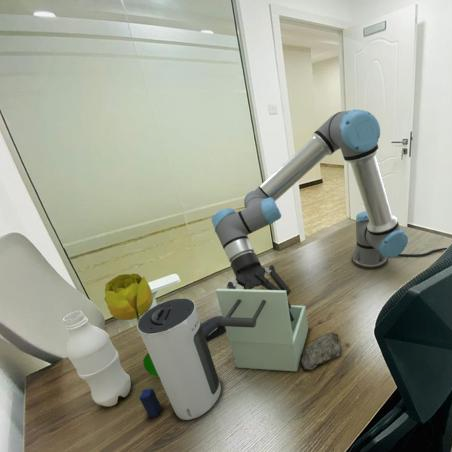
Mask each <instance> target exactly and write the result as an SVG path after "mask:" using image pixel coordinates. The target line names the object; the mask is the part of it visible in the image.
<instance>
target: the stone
mask: <svg viewBox="0 0 452 452" xmlns="http://www.w3.org/2000/svg"><path fill="white" fill-rule="evenodd" d="M341 353H342V346H341V343H340V342H339V333H334V332H332V333H330V332H329V333H328V332H327V333H324V334H323V335H321V336H319V337H318V338H316V339H314V341H312V342H310V343H309V345H307V346H306V347H305V349H303V351H302V354H301V359H300V363H301V366H302V368H303V370H308V371H309V370H310V371H311V370H314V369H315V368H316V367H317V366H318V365H319V364H323V363H324V362H327V361H329V360H332V359H333V358H335V357H340V356H341Z"/></svg>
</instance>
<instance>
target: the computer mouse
mask: <svg viewBox="0 0 452 452" xmlns="http://www.w3.org/2000/svg"><path fill="white" fill-rule="evenodd" d="M221 318H222V315H216V316H215V315H214V316H213V317H210V318H208V319H207V320H205V321H203V322H201V325H202V328H203V332H204V335H205V338H206V341H207V342H208V340H210V339H212V338H214V337H216V336H218V335H220V334H222V333H224V332H226V328H225V326H221V325H220V321H221Z"/></svg>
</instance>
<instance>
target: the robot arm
mask: <svg viewBox="0 0 452 452" xmlns="http://www.w3.org/2000/svg"><path fill="white" fill-rule="evenodd" d="M380 137H381V126H380V123H379V120H378V119H377V117H376V116H375V115H374V114H373V113H371V112H369V111H367V110H364V109H351V110H345V111H344V110H343V111H338V112H336V113H333V115H331V116H330V117H329V118H328V119H327V120H326V121H325V122H324V123H322V124H321V126H319V128H317V129H316V130H315V131H314V132H313V133H312V138H311V139H310V140H309V141H308V142H306V143H305V144H304V145H303V146H302V147H301V148H300V149H299V150H298V151H296V152H295V154H293V155H292V156H291V157H290V158H289V159H287V160H286V162H284V163H283V164H282V165H281V166H279V168H278V169H277V170H276V171H274V172H273V173H271V175H270V176H269V177H268V178H267V179H266V180H264V181H263V182H262V183H261V184H259V186H258V187H257V188H256V189H255V190H251V191H249V192H248V193H246V195H245V196H244V200H243V203H244V208H243V209H241V210H239V211H236V210H235V209H234V208H230V207H228V208H227V207H226V208H225V209H222V208H221V209H220V210H218V211H216V212H215V213H214V214H213V215H212V217H211V223H212V225H213V229H214V232H215V233H216V236H217V238H218V240H219V242H220V244H221V246H222V249H223V251H224V253H225V256H226V258H227V260H228V262H229V263H230V267H231V269H232V271H233V274H234V276H235V279H234V280H232V281H228V282H227V284H226V289H237V288H238V285H239V286H241V287H242V288H243V289H250V290H254V288H255V287H259V286H262V287H264V288H265V289H266V290H286V292H287V297H288V296H289V295H290V294H291V293H292V290H291V289H290V287H289V285H287V284H286V282H285V281H284V280H283V279H282V277H281V276H280V275H279V274H278V272H276V268H275V266H274V265H273V264H271V265H270V266H269V267H264V266H263V265H262V264H261V261H260V260H259V258H258V256H257V253H256V252H255V249H254V247H253V245H252V242H251V240H250V238H249V237H248V235H250V234H252V233H254V232H256V231H259V230H260V229H263V228H265V227H267V226H269V225H272V224H274V223H275V222H277V221H279V220H280V219H281V218H282V214H281V211H280V209H279V206H278V205H277V203H276V202H277V201H278V200H279V199H280V198H281V197H282V196H283V195H284V194H286V192H288V191H289V190H290V189H291V188H292V187H294V185H295V184H296V183H298V182H299V181H300V180H301V179H302V178H303V177H304V176H305V175H306V174H307V173H309V172H310V171H311V170H312V169H314V167H315V166H316V165H318V164H319V163H320V162H321V161H323V159H324V158H325V157H326V156H332V155H333V154H334V153H335V152H337V151H338V150H340V151H341V154H342V157H343V160H344V161H345V162H347V163H349V164H350V167H351V169H352V172H353V175H354V178H355V182H356V184H357V188H358V191H359V193H360V197H361V200H362V204H363V206H364V209H365V210H364V211H361V212H358V213H357V214H356V217H355V236H356V245H355V248H354V251H353V254H352V262H353V263H354V264H355V266H357V267H360V268H363V269H377V268H381V267H383V266H384V265H386V263H387V260H388V259H387V258H389V259H391V258H395V257H424V256H428V255H431V254H432V253H437V252H440V251H447V250H446V249H447V248H448V247H441V248H437V249H432V250H430V251H427V252H425V253H416V254H415V253H403V252H404V250H405V248H406V247H407V245H408V243H409V237H408V235H407V233H406V232H405V231H404V230H402V229H401V227H400V223H399V220H398V217H397V216H396V215H394V214H392V210H391V207H390V202H389V200H388V196H387V192H386V188H385V185H384V181H383V178H382V174H381V170H380V167H379V163H378V159H377V153H378V151H379V144H378V143H379V138H380ZM265 274H267V275H268V276H270V278H271V280H272V281H273V282H274V283H275V285H274V283H272V282H271V281H270V280H269V279H268V278H267V277H266V276H265ZM276 285H277V286H276ZM288 307H289V309H290V308H291V303H290V301H289V300H288ZM289 314H290V321H291V322H292V321H294V318H293V316H292V314H291V312H290V310H289Z"/></svg>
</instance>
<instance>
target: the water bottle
mask: <svg viewBox="0 0 452 452" xmlns="http://www.w3.org/2000/svg"><path fill="white" fill-rule="evenodd" d="M62 321H63V322H64V324H65V325H64V326H65V330H66V331H68V338H67V342H66V347H65V354H66V357H67V359H69V360H70V362H71V363H72V364H71V365H72V366H73V367H74V369H75V370H76V374H77V376H78V377H79V378H80V379H81V380H83V381H85V382H86V384H87V385H88V387H89V389H90V394H91V399H92V400H93V402H94V403H95V404H96V405H100V406H103V407H112V406H115V405H116V404H118V401H119V397H122V398H126V397H127V396H128V395H129V393H130V392H131V386H132V382H131V377H130V375H129V374H128V373H127V372H126V371H125V370H124V369H123V367H122V364H121V361H120V354H119V352H118V350H117V349H116V348H115V345H114V344H113V342H112V340H111V338H110V337H111V336H110V334H109V333H108V332H107V331H106V330H104V329H102V328H100V327H97V326H95V325H93V324H91V323H90V322H89V318H88V317H87V316H85V314H84V312H83V311H82V310H75V311H72V312H70V313H68V314H66V315H65V316H63V318H62Z"/></svg>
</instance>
